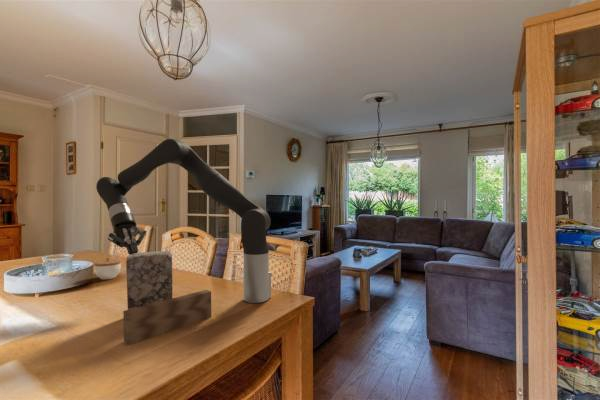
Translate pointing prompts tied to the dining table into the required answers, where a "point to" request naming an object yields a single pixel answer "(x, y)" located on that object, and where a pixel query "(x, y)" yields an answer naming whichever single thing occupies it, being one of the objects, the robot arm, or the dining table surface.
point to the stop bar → (165, 316)
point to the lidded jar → (107, 268)
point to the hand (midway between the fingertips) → (134, 254)
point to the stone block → (148, 278)
